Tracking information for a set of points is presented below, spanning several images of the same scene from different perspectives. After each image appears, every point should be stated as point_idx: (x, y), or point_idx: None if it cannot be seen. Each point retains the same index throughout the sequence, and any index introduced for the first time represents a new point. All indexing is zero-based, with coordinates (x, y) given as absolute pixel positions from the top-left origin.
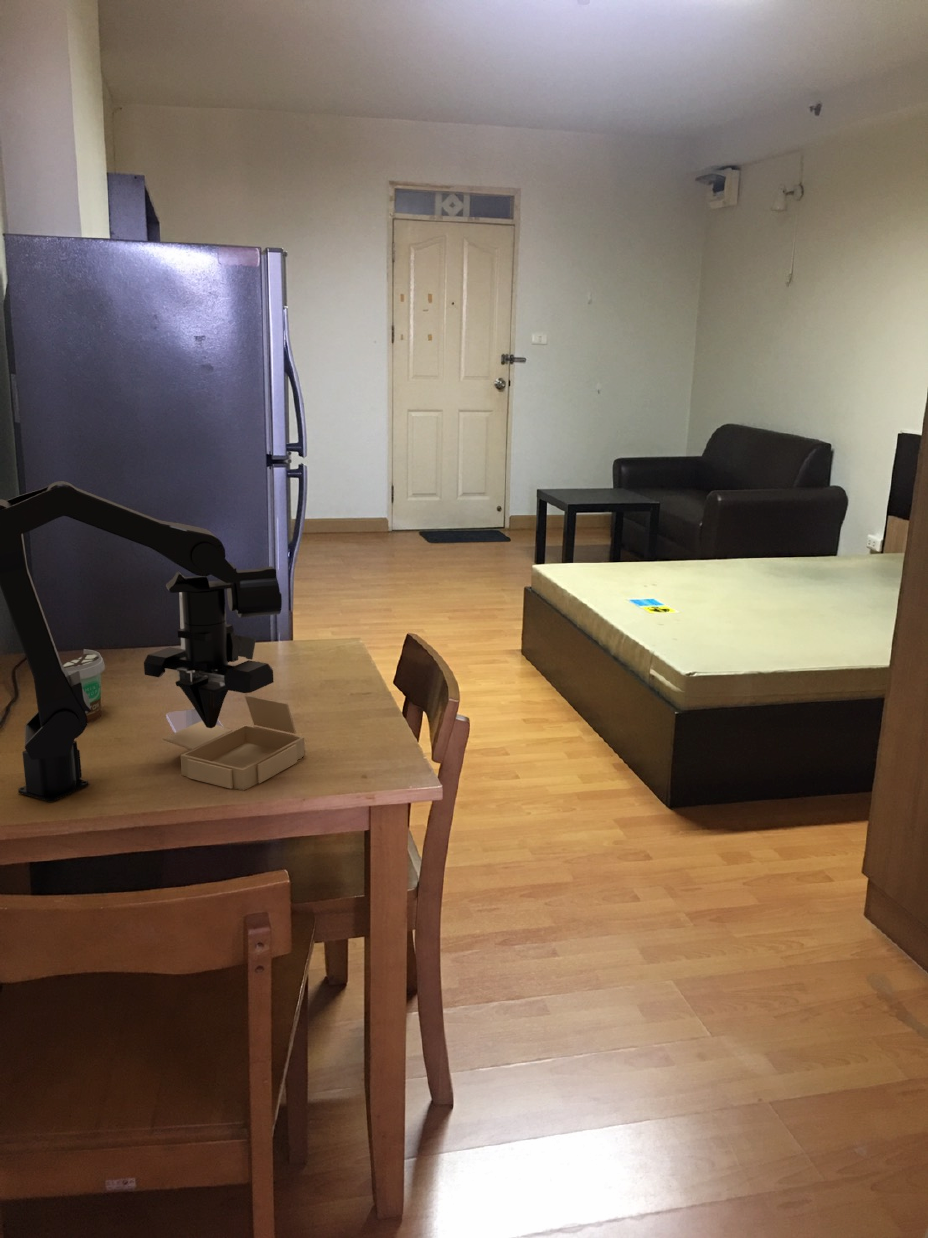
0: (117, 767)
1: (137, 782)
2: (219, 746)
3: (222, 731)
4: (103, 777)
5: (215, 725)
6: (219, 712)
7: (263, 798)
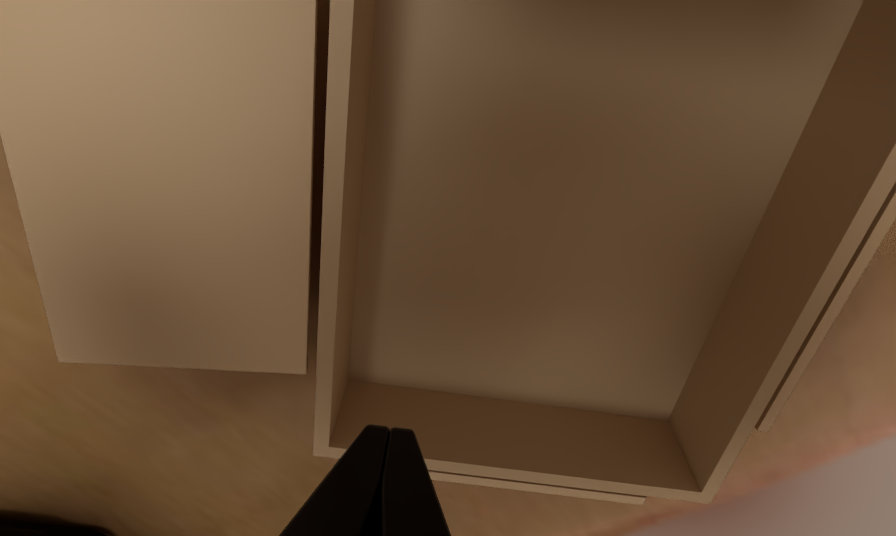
0: (30, 393)
1: (229, 469)
2: (353, 170)
3: (268, 49)
4: (80, 471)
5: (414, 436)
6: (445, 528)
7: (773, 450)
